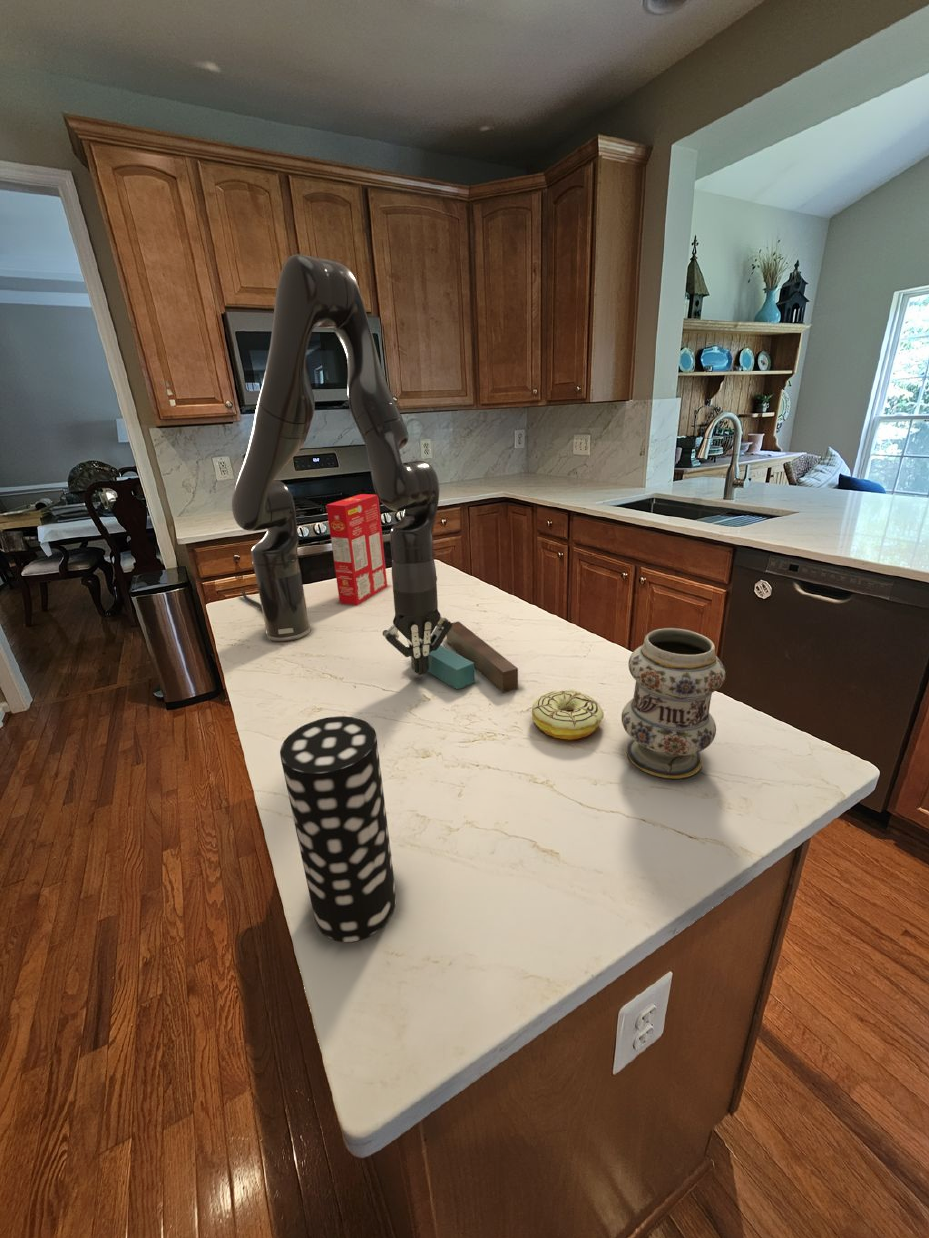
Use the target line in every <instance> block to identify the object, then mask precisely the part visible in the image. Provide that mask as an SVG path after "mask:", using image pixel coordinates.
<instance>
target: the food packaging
mask: <svg viewBox="0 0 929 1238" xmlns="http://www.w3.org/2000/svg"><path fill="white" fill-rule="evenodd" d="M325 506H326V513H327V521H328V528H329V535H330V542H331V549H332V556H333V564H334V572H335V578H336V585H337V592H338V593H337V594H338V601H339V603H340V604H346V605H352V606H358V605H360V604H361V603H363V602H365V601H366V600H368V599H370V598H372V597H373V596H374V595H377V594H378V593H379V592H381V591H382V590H384V589H386V588H387V587H388V579H387V578H388V577H387V569H386V568H387V567H386V560H385V549H384V539H383V538H384V537H383V529H382V519H381V509H380V499H379V498H378V496H377V494H371V493H370V494H368V493H367V494H366V493H360V494H356V495H354V496H350V497H347V498H343V499H341V500H337V501H334V502H331V503H327V504H326V505H325Z"/></svg>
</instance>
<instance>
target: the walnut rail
mask: <svg viewBox="0 0 929 1238" xmlns="http://www.w3.org/2000/svg"><path fill="white" fill-rule="evenodd" d="M451 623H452V627H451V629H450V630H449V632H448V633H447V635H446V642H447V644H449V645H450V646H451V647H452V648H454V649H455V650H456V651H457V652H458V653H459V655H460V656H462V657H464V658H466V659H468V660H470V661H472V662H473V663H474V668H475V669H477V671H479V672H480V673H481V674H482V675H483V676H484V677H485V678H486V679H488V680H489V681H490V682H491V683H492V684H493V685H494V686H495V687H496V688H498V690H500V691H501V692H502V693H507V692H511V691H513V690H517V689H518V688H519V668H518V667H517V666H516V665H515V664H513V663H512V662H510V660H508V659H507V658H506V657H504V656H503V655H502V654H500V652H498V651H497V650H495V649H494V648H493V647H492V646H490V645H489V644H488V643H487V642H485V641H484V639H482V638H481V637H479V636H478V635H477V634H476V633H474V632H473V631H472V630H471V629H469V628H468V627H466V626H465V625H464V624H462V623H461V621H455V622H451Z"/></svg>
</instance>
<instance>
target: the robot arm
mask: <svg viewBox="0 0 929 1238" xmlns="http://www.w3.org/2000/svg"><path fill="white" fill-rule="evenodd" d="M315 328H316V329H326V330H333V332H334V333H335V335H336V336H337V338H338V340H339V342H340V344H341V346H342V348H343V350H344V354H345V356H346V357H345V358H346V360H347V361H346V363H347V384H346V385H347V386H346V389H347V390H346V392H347V402H348V406H349V410H350V414H351V416H352V418H353V421H354V424H355V425H356V427H357V430H358V432H359V434H360V436H361V438H362V440H363V443H364V445H365V447H366V451H367V459H368V464H369V469H370V475H371V481H372V486H373V489H374V492H375V495H377V496H378V498H379V502H380V503H382V504H383V505H384V506H385V507H386V508H387V509H389V510H390V511H393V512H402V511H403V513H402V517H401V518H400V520H398V522H396V523H395V524H394V525H392V527H391V529H390V531H389V541H390V542H389V543H390V553H391V582H392V593H393V595H392V596H393V607H394V617H393V620H392V625H391V626H390V627H389V628H388V629H385V630H383V631H382V634H381V635H382V636H383V638H384V639H385V640H386V641H387V642H388V643H389V644H391V646H392V647H394V648H395V649H396V650H397V651H398V652H399V653H400V654H401V655H403V656H404V657H405V658H409V657H410V659H411V660H410V661H411V669H412V671H413V672H414V673H415V674H417V675H418V676H422V675H426V674H427V673H428V672H427V670H428V669H429V657H428V655H429V653H430V652H431V651H436V650H437V649H438V648H439V646H440V645H441V646H442V643H443V642H444V640H445V639H446V638H447V633H448V632H449V630H450V629H451V627H452V623H453V622H451V621H449V620H448V619H447V618H446V617H442V616H441V613H440V611H439V608H438V607H439V603H438V602H439V601H438V600H439V599H438V584H437V583H438V576H437V568H436V562H435V553H434V537H433V531H434V527H435V523H436V518H437V512H438V507H439V502H440V501H439V500H440V482H439V478H438V475H437V472H436V470H435V469H434V467H433V466H432V465H431V464H430V463H429V462H426V461H423V460H412V461H407V462H403V461H402V458H401V452H400V450H402V448H403V447H405V446H406V445H407V443H408V442H409V436H410V435H409V432H408V428H407V426H406V423H405V422H404V419H403V417H402V414H401V412H400V410H399V407H398V406H397V403H396V401H395V399H394V397H393V394H392V392H391V389H390V387H389V384H388V382H387V380H386V376H385V374H384V370H383V368H382V367H383V366H382V364H381V361H380V356H379V354H378V350H377V346H376V342H375V339H374V335H373V331H372V328H371V323H370V321H369V317H368V313H367V310H366V307H365V303H364V299H363V296H362V293H361V289H360V287H359V284H358V282H357V280H356V277H355V275H354V274H353V272H352V271H351V270H350V268H348V266H347V265H345V264H343V263H341V262H339V261H336V260H332V259H327V258H321V257H316V256H312V255H309V254H301V253H295V254H293V255H290V256H289V257H288V258H287V259H286V260H285V262H284V263H283V265H282V268H281V270H280V271H279V276H278V280H277V285H276V291H275V300H274V307H273V318H272V326H271V335H270V343H269V350H268V354H267V360H266V366H265V371H264V375H263V380H262V385H261V389H260V392H259V396H258V400H257V405H256V409H255V413H254V420H253V425H252V430H251V435H250V438H249V443H248V446H247V450H246V454H245V457H244V461H243V464H242V466H241V469H240V472H239V475H238V478H237V480H236V483H235V485H234V488H233V492H232V499H231V511H232V515H233V519H234V521H235V522H236V524H237V525H238V527H240V528H241V529H242V530H245V531H247V532H259V531H263V530H266V533H265V534H264V536H263V538H261V540H260V541H258V542H257V543H256V544H255V545H253V546H252V548H251V550H250V554H251V562H252V565H253V566H252V567H253V572H254V575H255V581H256V586H257V590H258V591H257V592H258V596H259V601H260V603H259V602H258V601H256V600H253V599H251V598H249V597H248V596H247V594H246V590H245V589H241V594H242V597H243V598H244V600H246V601H247V602H249V603H251V604H253V605H255V606H256V607H258V608H260V609H261V611H262V615H263V621H264V626H265V630H266V631H265V633H266V638H267V639H268V640H270V641H273V642H288V641H295V640H297V639H300V638H303V637H305V636H306V635H308V634H309V633H310V632H311V625H310V620H309V614H308V608H307V603H306V602H307V601H306V596H305V590H304V583H303V577H302V571H301V566H300V561H299V560H300V559H299V553H298V547H299V533H298V531H299V530H298V524H297V523H298V522H297V513H296V505H295V500H294V498H293V494H292V493H291V490H290V488H289V486H287V485H286V484H285V483H284V482H283V481H281V480H278V479H276V477H277V476H278V474H279V473H280V472H281V471H282V470H283V469H284V468H285V467H286V466H287V465H288V463H289V462H290V461H291V460H292V459H293V458H294V457H295V456H296V455H297V453H298V452H300V450H301V448H302V447H303V445H304V443H306V440H307V437H308V436H309V432H310V429H311V425H312V421H313V419H314V414H315V411H316V410H315V409H316V401H315V396H314V391H313V388H312V383H311V381H310V378H309V375H308V372H307V367H306V358H307V353H308V347H309V342H310V340H311V336H312V333H313V332H314V329H315ZM398 631H399V632H400V634H401V635H403V637H405V638H406V641H407V644H408V646H406V645H404V644H403V642H401V641H400V640H399V637H400V635H399V633H398Z"/></svg>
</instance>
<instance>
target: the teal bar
mask: <svg viewBox="0 0 929 1238" xmlns="http://www.w3.org/2000/svg"><path fill="white" fill-rule="evenodd" d="M428 657H429V669H428V670H427V671H426V672H427V673H429V674H431V675H432V676H434V677H436V678H437V679H439V680H441V681H442V682H443V683H445V684H447V685H449V686H450V687H452V688H453V689H455V690H457V691H459V690H461V689H463V688H466V687H468V686H470V685H473V684H475V683H476V672H475V671H476V670H475V669H476V667H474V663H473V662H472V661H470V660H468V659H466V658H465V657H463V656H462V655H461V654H458V653H456V652H454V651H453V650H451V649H449V648H447V647H445V646H443V645H442V644H441V645H440V646H439V648H438V649H437V650H436V651H431V652H430V653H429V655H428Z"/></svg>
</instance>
